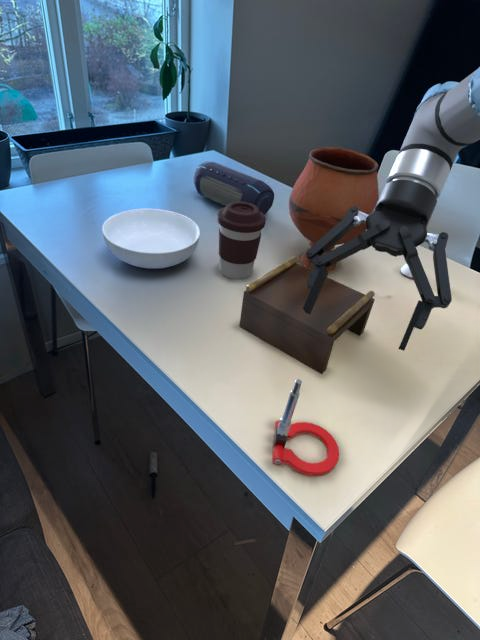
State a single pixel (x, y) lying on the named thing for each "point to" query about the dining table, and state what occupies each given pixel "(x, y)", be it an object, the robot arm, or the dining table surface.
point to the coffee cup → (239, 238)
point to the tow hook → (290, 430)
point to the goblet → (332, 194)
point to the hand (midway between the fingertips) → (352, 329)
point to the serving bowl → (151, 237)
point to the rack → (302, 313)
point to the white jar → (406, 270)
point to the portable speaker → (231, 186)
